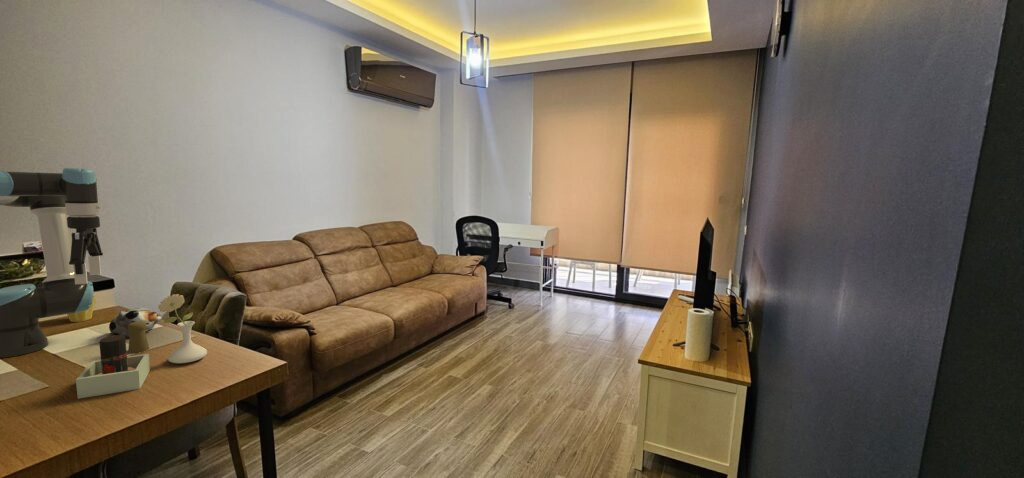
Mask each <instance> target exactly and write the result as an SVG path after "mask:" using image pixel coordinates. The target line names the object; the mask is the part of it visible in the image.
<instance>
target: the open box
mask: <svg viewBox="0 0 1024 478" xmlns="http://www.w3.org/2000/svg"><path fill="white" fill-rule="evenodd" d="M127 363H128V371H124V372H117V373H110V374H103V375H102V366H101V359H97V360H92V361H91V362H90V363H89V364H88V365H87V366H86V367H85V369H84V370H83V371H82V372H81V373H80V374H79V376H78V377H77V378H76V379H75V383H76V384H75V385H76V393H77V399H78V400H79V399H84V398H92V397H96V396H103V395H108V394H110V395H111V394H115V393H121V392H128V391H134V390H140V389H141V388H142V386H143V384H144V382H145V380H146V379H147V377H148V374H149V373H150V371H151V369H150V366H151V365H150V354H149V353H143V354H136V355H130V356H128V355H127Z"/></svg>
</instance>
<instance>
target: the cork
mask: <svg viewBox="0 0 1024 478" xmlns="http://www.w3.org/2000/svg"><path fill="white" fill-rule="evenodd" d="M145 329H146V323H145V322H142V321H138V322H133V323H130V324H129V325H128V331H129V332H130V337H128V338H129V339H128V340H129V342H128V347H127V348H128V351H127V353H128V352H129V353H128V354H131V353H135V354H140V353H139V352H141V353H145V352H147V351H149V350H150V346H149V342H148V338H147V334H146V331H145ZM148 349H149V350H148ZM144 351H145V352H144Z"/></svg>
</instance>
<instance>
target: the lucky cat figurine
mask: <svg viewBox="0 0 1024 478" xmlns="http://www.w3.org/2000/svg"><path fill="white" fill-rule="evenodd" d="M162 318H163V313H157V312H156V311H152V310H150V309H148V308H146V307H134V308H131V309H128V310H126V311H123V310H120V312H119V313H118V315H117V316H116V317H114V318H113V319H112V320H111V321H110V322H109V326H108V330H109V332H110V333H111V336H114V335H124V336H125V339H127V338H130V332H129V331H128V325H129V324H130V323H133V322H138V321H142V322H145V323H146V329H145V332H148V331H150V330H152V329H154V328H155V325H156V324H158V323H159V322H160V321H161V320H162Z"/></svg>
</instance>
